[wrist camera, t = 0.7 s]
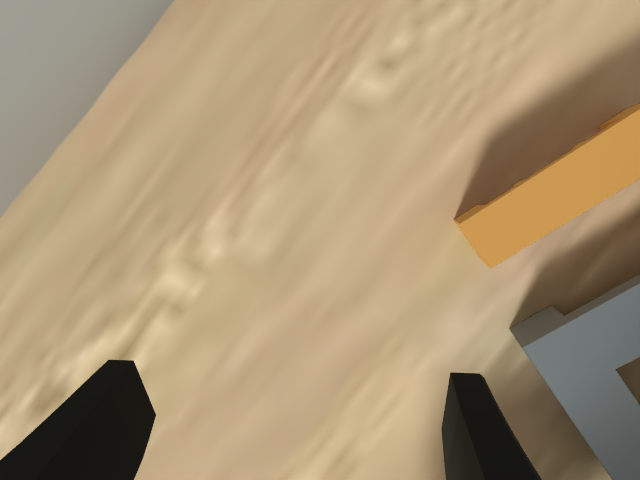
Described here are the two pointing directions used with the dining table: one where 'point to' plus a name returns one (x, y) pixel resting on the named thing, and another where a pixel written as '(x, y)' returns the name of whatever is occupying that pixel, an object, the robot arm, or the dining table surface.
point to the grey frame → (593, 371)
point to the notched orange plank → (557, 191)
